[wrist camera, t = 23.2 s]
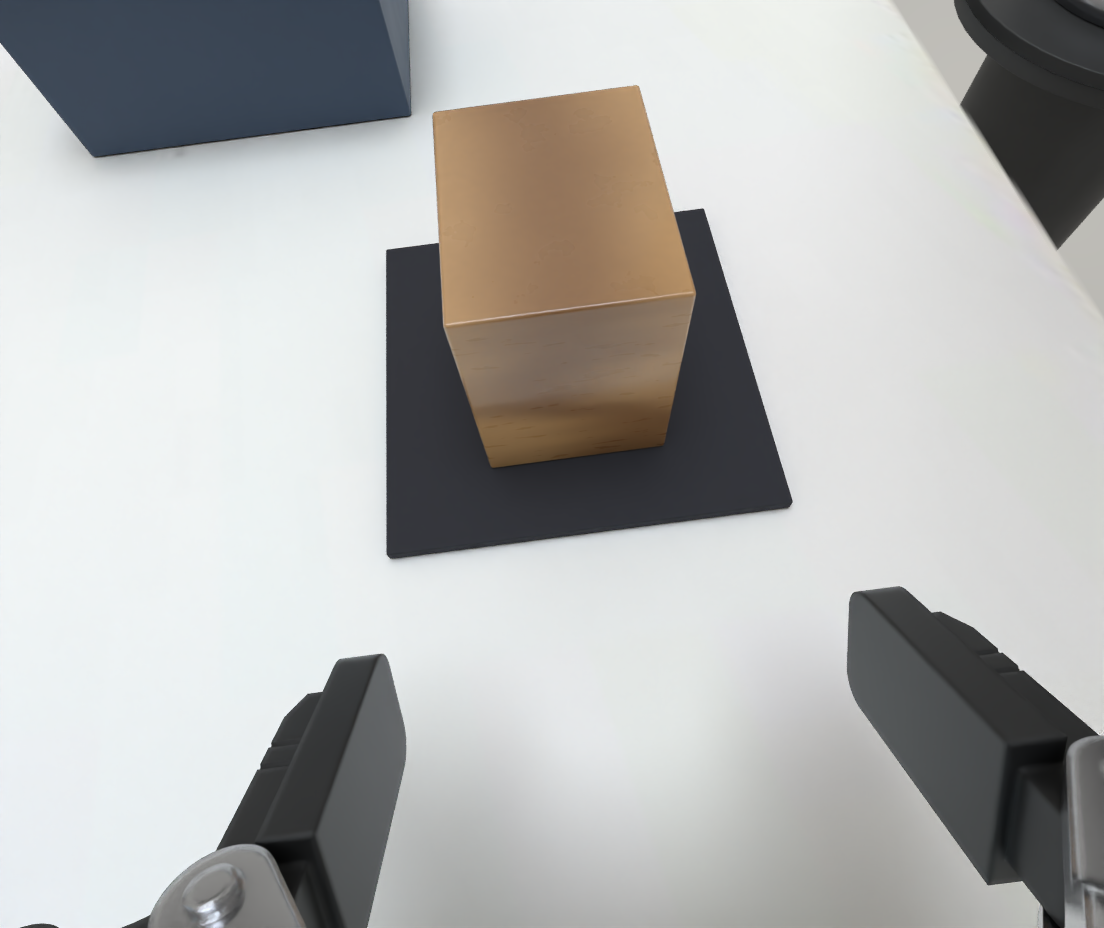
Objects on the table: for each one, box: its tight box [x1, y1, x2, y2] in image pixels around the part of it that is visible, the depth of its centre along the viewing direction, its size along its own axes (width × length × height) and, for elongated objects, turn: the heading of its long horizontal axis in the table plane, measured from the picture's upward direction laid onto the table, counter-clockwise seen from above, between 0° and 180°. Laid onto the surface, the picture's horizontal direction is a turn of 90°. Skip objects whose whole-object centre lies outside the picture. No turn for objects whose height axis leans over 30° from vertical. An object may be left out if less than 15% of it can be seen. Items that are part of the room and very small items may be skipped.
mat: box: [386, 209, 793, 558], centre depth 22 cm, size 12×12×1 cm
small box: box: [433, 85, 696, 468], centre depth 18 cm, size 5×7×7 cm
